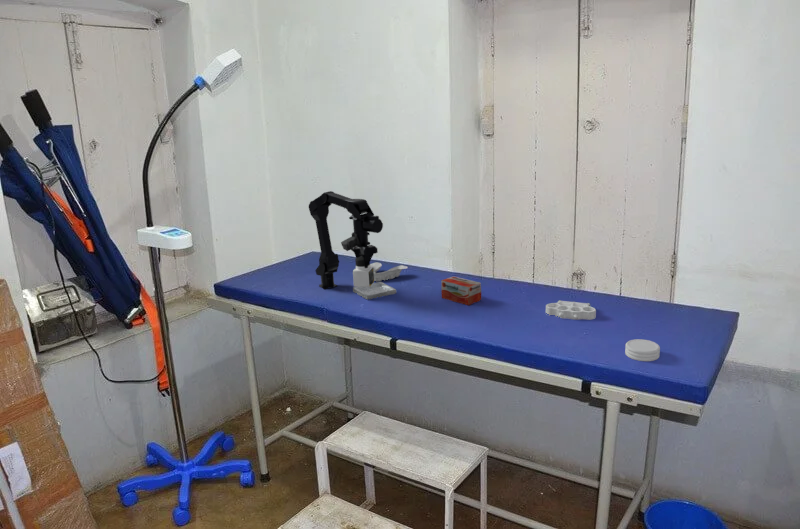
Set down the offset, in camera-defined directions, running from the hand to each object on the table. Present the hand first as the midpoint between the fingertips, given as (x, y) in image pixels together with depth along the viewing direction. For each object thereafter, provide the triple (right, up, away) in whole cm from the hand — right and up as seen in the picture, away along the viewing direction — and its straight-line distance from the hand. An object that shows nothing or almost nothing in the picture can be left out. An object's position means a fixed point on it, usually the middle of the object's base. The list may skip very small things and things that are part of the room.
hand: (362, 266), depth 250 cm
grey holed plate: (+80, -18, -29) cm, 87 cm away
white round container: (+91, -28, -66) cm, 116 cm away
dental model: (+7, -6, +29) cm, 30 cm away
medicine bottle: (0, -8, +2) cm, 8 cm away
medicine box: (+41, -14, -7) cm, 44 cm away
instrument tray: (+5, -11, +7) cm, 14 cm away
